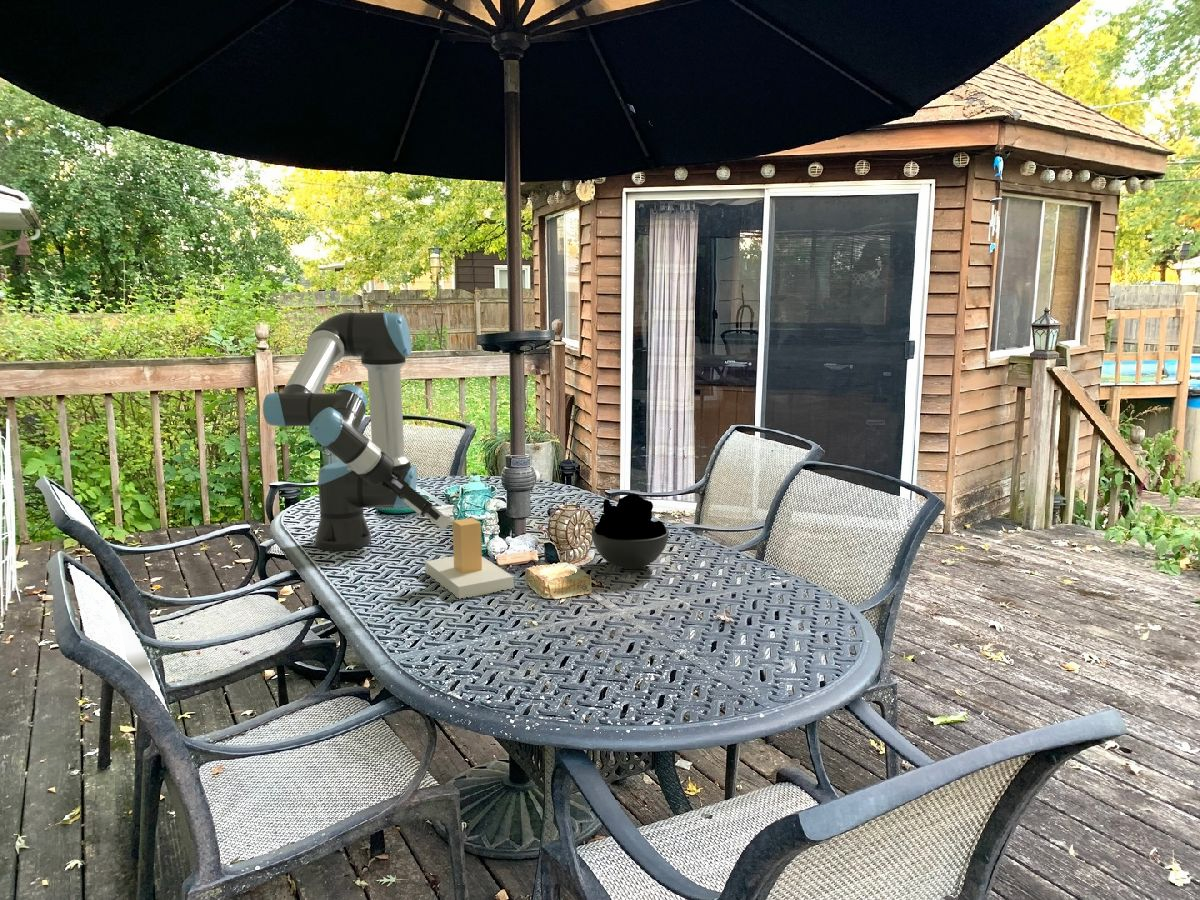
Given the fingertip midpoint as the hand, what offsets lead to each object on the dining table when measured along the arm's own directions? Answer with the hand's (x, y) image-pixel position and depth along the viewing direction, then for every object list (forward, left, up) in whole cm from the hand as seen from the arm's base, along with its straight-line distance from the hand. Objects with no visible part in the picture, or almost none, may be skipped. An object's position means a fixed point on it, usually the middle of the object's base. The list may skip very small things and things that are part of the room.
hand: (435, 518), depth 196 cm
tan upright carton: (0, +8, -14) cm, 16 cm away
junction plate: (0, +8, -17) cm, 19 cm away
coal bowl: (+12, +48, -17) cm, 52 cm away
